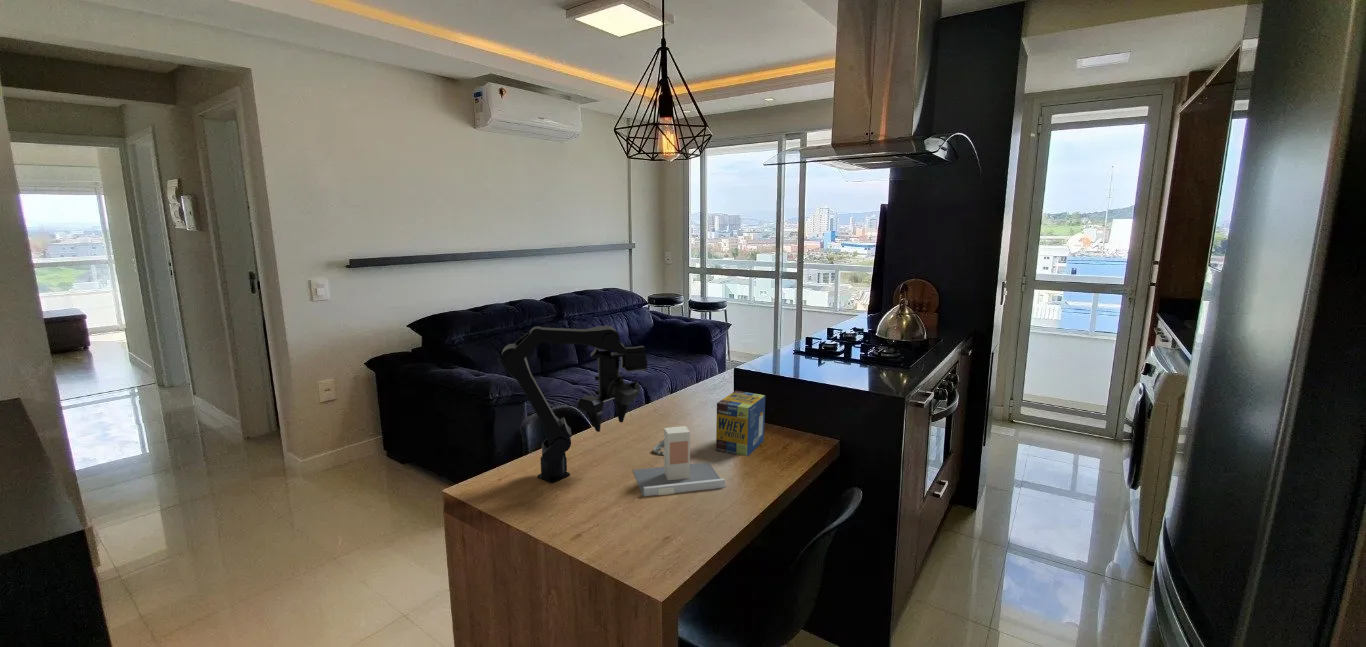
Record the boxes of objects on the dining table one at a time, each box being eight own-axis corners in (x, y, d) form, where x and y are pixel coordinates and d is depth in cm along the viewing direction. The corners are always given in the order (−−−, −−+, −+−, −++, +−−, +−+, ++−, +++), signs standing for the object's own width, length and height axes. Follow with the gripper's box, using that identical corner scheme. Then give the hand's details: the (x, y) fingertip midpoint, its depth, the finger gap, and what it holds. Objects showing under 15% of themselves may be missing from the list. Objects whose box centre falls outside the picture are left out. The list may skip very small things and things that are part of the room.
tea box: (668, 480, 150) (667, 434, 148) (664, 473, 155) (664, 427, 152) (689, 478, 152) (690, 432, 149) (685, 471, 156) (685, 426, 154)
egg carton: (673, 463, 165) (673, 450, 165) (650, 459, 168) (650, 446, 168) (688, 450, 175) (688, 437, 174) (666, 446, 178) (666, 433, 177)
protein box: (715, 451, 174) (716, 402, 171) (734, 435, 187) (735, 389, 185) (747, 457, 169) (748, 408, 166) (764, 440, 182) (766, 394, 180)
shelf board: (642, 502, 141) (642, 489, 141) (632, 474, 157) (632, 463, 156) (726, 493, 147) (726, 480, 146) (708, 467, 162) (709, 455, 162)
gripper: (606, 385, 143) (607, 443, 145) (653, 370, 157) (653, 423, 160) (575, 377, 149) (577, 434, 152) (623, 364, 164) (624, 415, 167)
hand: (609, 426), depth 157 cm, fingers open, 9 cm apart
